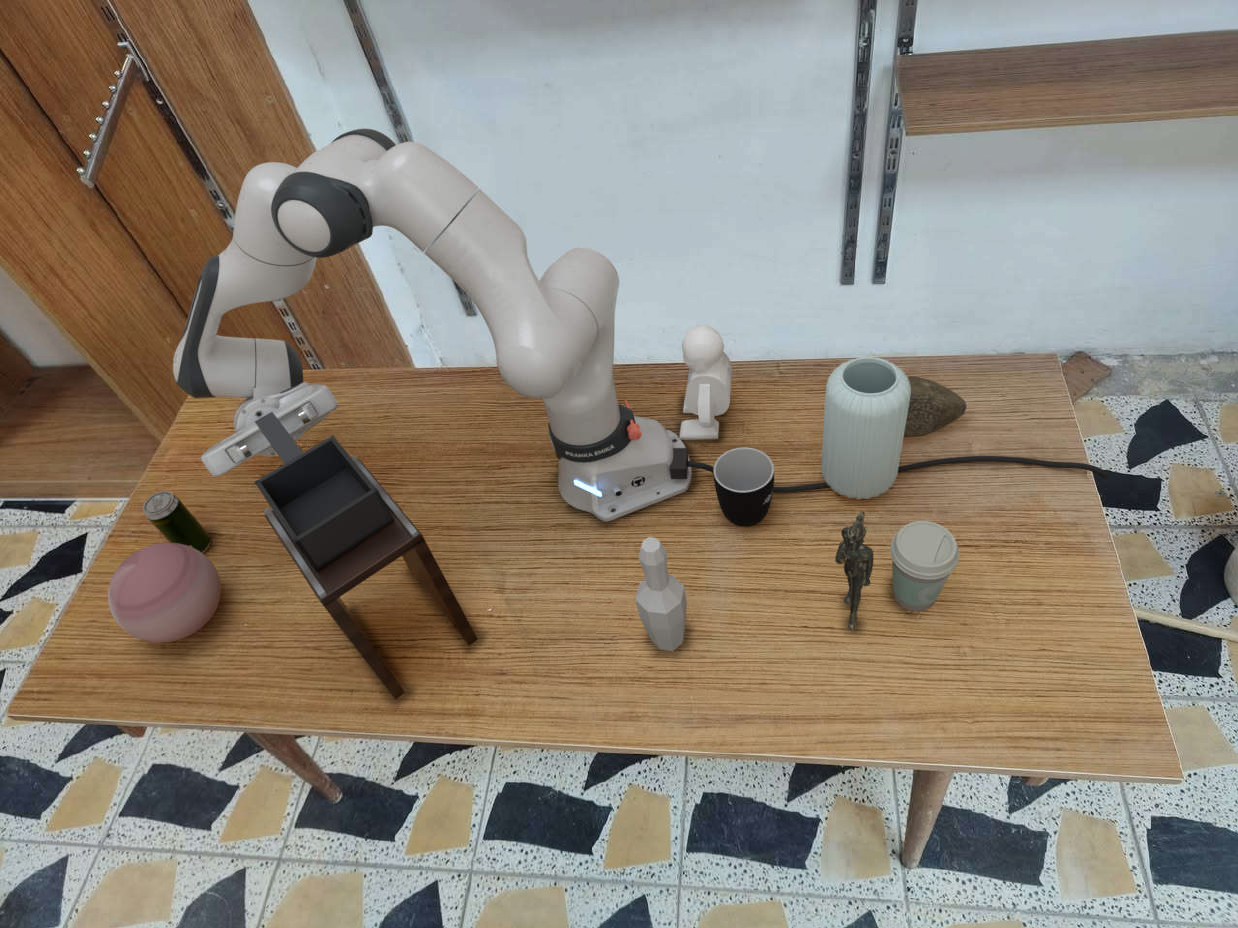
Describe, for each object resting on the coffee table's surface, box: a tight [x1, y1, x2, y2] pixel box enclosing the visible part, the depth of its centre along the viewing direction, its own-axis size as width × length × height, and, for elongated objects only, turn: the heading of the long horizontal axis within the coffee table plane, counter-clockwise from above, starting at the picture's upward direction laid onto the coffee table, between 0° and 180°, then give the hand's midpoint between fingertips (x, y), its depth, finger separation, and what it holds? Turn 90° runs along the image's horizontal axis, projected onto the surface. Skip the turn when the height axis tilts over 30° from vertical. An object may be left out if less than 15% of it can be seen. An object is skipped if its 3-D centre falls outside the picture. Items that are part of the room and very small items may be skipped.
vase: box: [820, 356, 911, 501], centre depth 121 cm, size 12×12×22 cm
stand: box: [263, 454, 479, 700], centre depth 113 cm, size 18×14×27 cm
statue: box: [835, 510, 874, 631], centre depth 106 cm, size 5×6×20 cm
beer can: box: [142, 490, 212, 554], centre depth 136 cm, size 5×5×12 cm
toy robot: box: [678, 324, 733, 441], centre depth 135 cm, size 14×9×20 cm, turn 171°
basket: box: [254, 412, 394, 571], centre depth 105 cm, size 24×11×6 cm, turn 39°
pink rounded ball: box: [107, 542, 222, 644], centre depth 124 cm, size 15×15×15 cm
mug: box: [712, 446, 775, 528], centre depth 125 cm, size 12×9×10 cm
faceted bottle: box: [635, 536, 688, 652], centre depth 107 cm, size 6×6×22 cm
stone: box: [904, 375, 968, 438], centre depth 133 cm, size 17×9×8 cm, turn 93°
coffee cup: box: [889, 520, 960, 612], centre depth 110 cm, size 8×8×12 cm
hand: (275, 434), depth 114 cm, fingers open, 8 cm apart
